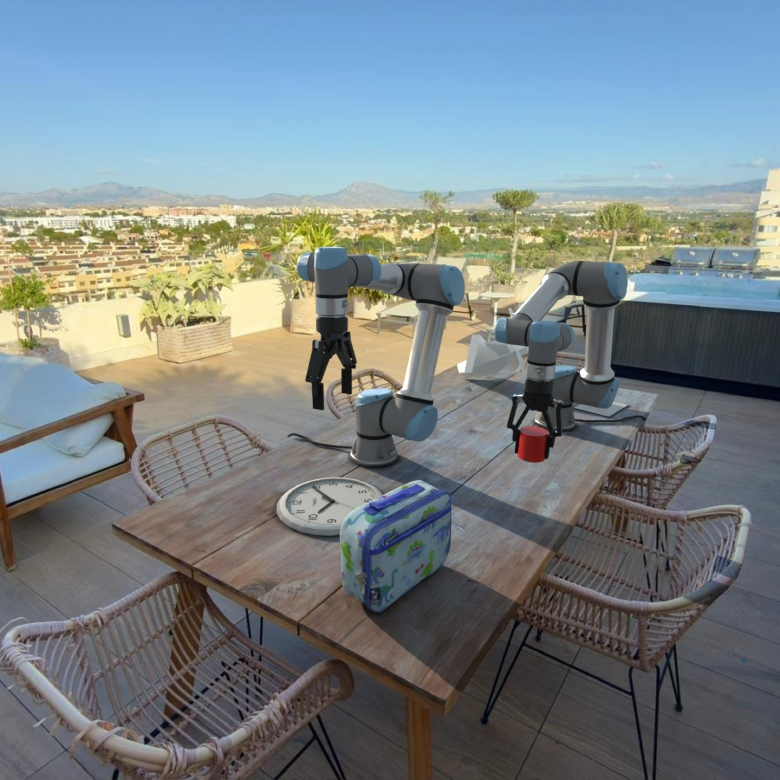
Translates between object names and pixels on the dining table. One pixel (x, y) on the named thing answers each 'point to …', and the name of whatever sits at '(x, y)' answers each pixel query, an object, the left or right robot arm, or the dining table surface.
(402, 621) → the dining table surface
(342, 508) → the wall clock
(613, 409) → the invitation card
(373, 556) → the lunch box
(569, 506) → the dining table surface
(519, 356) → the white plastic object
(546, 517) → the dining table surface
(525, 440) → the canister
